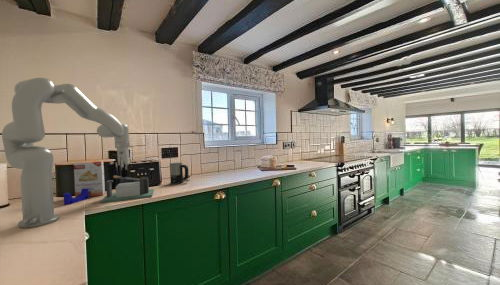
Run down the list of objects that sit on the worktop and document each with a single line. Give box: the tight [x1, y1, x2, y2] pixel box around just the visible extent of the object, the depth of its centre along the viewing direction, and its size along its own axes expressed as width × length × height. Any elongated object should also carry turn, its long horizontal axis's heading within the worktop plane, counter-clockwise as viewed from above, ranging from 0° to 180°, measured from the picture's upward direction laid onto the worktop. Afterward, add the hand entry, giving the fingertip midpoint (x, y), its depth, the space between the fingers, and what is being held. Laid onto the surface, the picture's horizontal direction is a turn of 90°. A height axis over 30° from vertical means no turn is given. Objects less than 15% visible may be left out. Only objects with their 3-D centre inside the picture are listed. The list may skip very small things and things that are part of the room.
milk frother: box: [169, 162, 191, 185], centre depth 173 cm, size 14×16×15 cm
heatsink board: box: [100, 176, 154, 204], centre depth 133 cm, size 18×25×10 cm
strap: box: [112, 174, 141, 182], centre depth 133 cm, size 16×3×1 cm, turn 110°
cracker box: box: [73, 160, 106, 198], centre depth 137 cm, size 14×6×21 cm, turn 112°
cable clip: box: [63, 189, 90, 206], centre depth 126 cm, size 12×4×6 cm, turn 169°
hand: (124, 176), depth 133 cm, fingers closed
